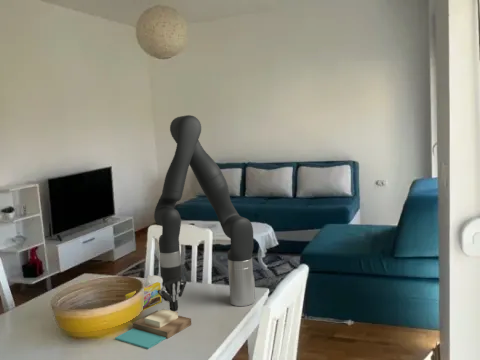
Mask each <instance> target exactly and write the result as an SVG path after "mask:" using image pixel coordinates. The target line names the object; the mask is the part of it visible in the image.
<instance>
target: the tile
mask: <svg viewBox="0 0 480 360" xmlns="http://www.w3.org/2000/svg"><path fill="white" fill-rule="evenodd" d="M157 311H158V312H156V313H154V314H152V315H150V316H148V317H146V318H145V324H148V325H152V326H155V327H159V328H161V327H162V326H164V325H166V324H168V323H170V322H171V321H173V320H175V319H177V318H178V316H179V312H178V311H171V310H170V309H165V308H161V309H160V310H157Z"/></svg>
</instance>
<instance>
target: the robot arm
mask: <svg viewBox="0 0 480 360" xmlns="http://www.w3.org/2000/svg"><path fill="white" fill-rule="evenodd" d="M169 132H170V135H171V137H172V139H173V141H175V143H176V147H175V151H174V156H173V158H172V160H171V162H170V164H169V167H168V169H167V171H166V175H165V177H164V182H163V186H162V187H163V188H162V192H161V195H160V197H159V199H158V201H157V203H156V207H155V209H154V212H153V213H154V214H153V219H154V222H155V224H157V225H158V226H161V228H162V229H161V230H162V232H161V235H159V237H158V248H159V256H158V257H159V269H160V278H162V280H163V282H162V288H161V290H158V293H159V295H160V296H161V299H163V300H164V301H165V302H168V303H169V310H170V311H175V312H178V311H179V302H178V301H179V298H181V297H182V296H183V293H184V291H185V287H186V285H187V281H186V280H183V279H182V275H183V266H182V255H181V250H180V240H179V239H180V234H181V233H180V232H181V226H182V219H181V214H180V213H179V211H178V210H177V209H176V208H175V207H176V204H177V202H179V201H181V199H182V197H183V193H184V189H185V186H186V185H185V183H186V180H187V174H188V171H189V168H190V169H191V171H192V173H193V174H194V176H195V178H196V180H197V182H198V184H199V186H200V188H201V190H202V192H203V193H204V195H205V196H206V198H207V200H208V202H209V203H210V205H211V207H212V208H213V210H214V212H215V214H216V216H217V219H218V221H219V224H220V226H221V229H222V231H223V233H224V235H225V236H226V237H227V238H229V240H230V249H228V250H227V254H226V256H227V268H228V269H227V270H228V283H229V298H230V304H231V305H233V306H236V307H246V306H250V305H252V304H254V303H255V301H256V286H255V275H254V269H253V251H254V228H253V225H252V221H250V219H248V218H246V217H243V216H241V215H240V214H239V213H238V211H237V209H236V208H235V206H234V204H233V203H232V200H231V197H230V190H229V186H228V183H227V180H226V178H225V176H224V174H223V172H222V170H221V168H220V167H219V166H218V164H217V163H216V161H215V160H214V159H213V158H212V157H211V156H210V155H209V154H208V152H207V151H206V150H205V149H204V147H203V146H202V145H201V142H200V140H199V139H200V136H201V133H202V123H201V121H200V119H198V117H196V116H194V115H190V114H188V115H181V116H177V117H175V118H174V119H173V120H172V121H171V122H170V125H169Z"/></svg>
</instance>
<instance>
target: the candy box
mask: <svg viewBox="0 0 480 360" xmlns="http://www.w3.org/2000/svg"><path fill="white" fill-rule="evenodd" d="M143 288H144V306H143V311H145V310H148V309H150V308H153V307H154V306H156V305H158V304H161V303H162V297H161V296H160V295H159V293H158V290H161V284H160V283H159V282H156V283H154V284H151V285H149V286H146V287H143ZM135 293H136V290H134V291H131V292H128V293H126V294H125V295H124V296H125V300H126V299H128V298H130V297H132V296H133V295H134V294H135Z"/></svg>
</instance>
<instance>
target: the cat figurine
mask: <svg viewBox="0 0 480 360" xmlns="http://www.w3.org/2000/svg"><path fill="white" fill-rule="evenodd" d="M156 282H159V283H160V284H161V288H162V282H163V279H162V278H161V276H159V275H150V274H148V275H147V278H146V279H145V281H144V287H146V286H149V285H151V284H154V283H156ZM144 287H143V288H144Z"/></svg>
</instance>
